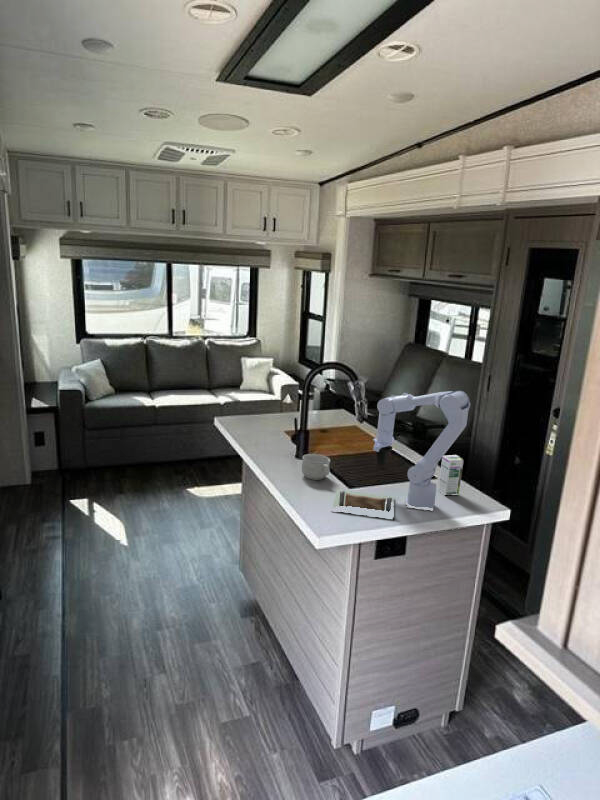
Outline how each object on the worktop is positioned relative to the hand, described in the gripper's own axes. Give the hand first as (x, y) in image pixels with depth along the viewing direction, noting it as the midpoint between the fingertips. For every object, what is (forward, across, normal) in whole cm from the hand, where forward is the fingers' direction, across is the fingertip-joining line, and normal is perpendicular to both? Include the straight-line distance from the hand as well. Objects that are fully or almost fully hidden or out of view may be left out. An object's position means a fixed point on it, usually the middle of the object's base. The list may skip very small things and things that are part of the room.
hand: (381, 464), depth 204 cm
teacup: (+11, +5, -24) cm, 27 cm away
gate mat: (+10, +15, +1) cm, 18 cm away
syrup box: (+11, -16, +22) cm, 29 cm away
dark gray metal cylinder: (+10, +18, +3) cm, 21 cm away
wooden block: (+9, +18, +3) cm, 21 cm away
